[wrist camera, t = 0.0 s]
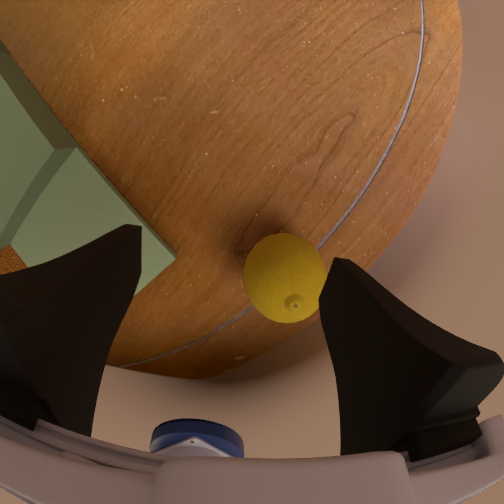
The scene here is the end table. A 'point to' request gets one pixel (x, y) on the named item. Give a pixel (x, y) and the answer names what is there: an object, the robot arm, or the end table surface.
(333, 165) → the end table surface
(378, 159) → the end table surface
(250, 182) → the end table surface
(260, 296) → the lemon
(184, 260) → the end table surface
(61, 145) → the step shelf
